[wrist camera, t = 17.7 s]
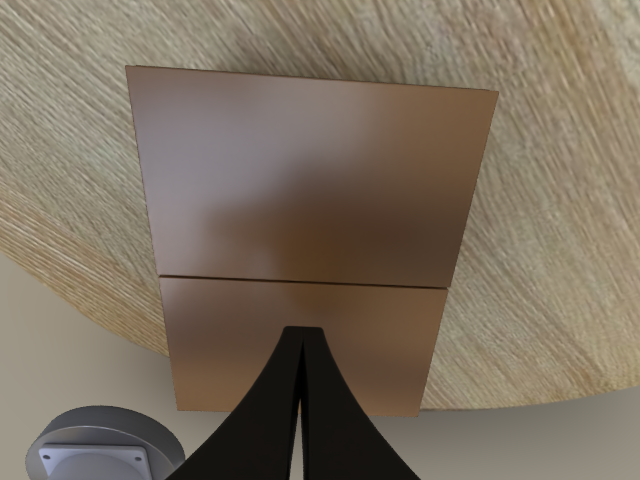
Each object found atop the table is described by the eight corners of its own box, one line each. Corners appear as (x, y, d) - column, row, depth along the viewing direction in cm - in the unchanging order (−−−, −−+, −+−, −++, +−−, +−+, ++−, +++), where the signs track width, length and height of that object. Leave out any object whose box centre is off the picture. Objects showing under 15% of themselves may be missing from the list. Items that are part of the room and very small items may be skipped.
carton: (384, 318, 23) (418, 418, 16) (221, 312, 23) (176, 411, 15) (422, 96, 18) (501, 88, 10) (205, 81, 17) (122, 62, 10)
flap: (416, 411, 16) (417, 417, 16) (179, 405, 16) (177, 410, 15) (446, 286, 13) (448, 290, 13) (161, 273, 13) (157, 277, 13)
